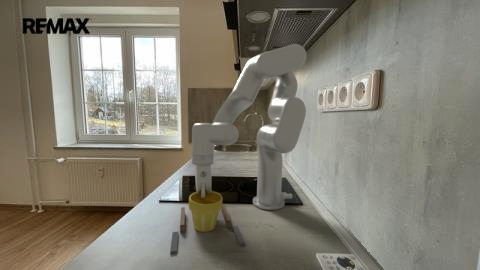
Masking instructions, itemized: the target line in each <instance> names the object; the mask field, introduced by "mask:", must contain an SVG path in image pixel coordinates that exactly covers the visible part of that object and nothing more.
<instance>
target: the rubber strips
mask: <svg viewBox="0 0 480 270" xmlns="http://www.w3.org/2000/svg"><path fill="white" fill-rule="evenodd" d="M232 231H233V233H234V237H235V239H236V242H237V245H238V246H239V247H240V246H245V244H246V242H245V240H244V237H243V235H242V233H241V230H240V228H239V226H238V225H232ZM171 235H172V236H171V244H170V249H169V250H170V251H169V254H170V255H175V254H176V255H177V254H178V245H179V244H178V243H179V231H172V234H171Z"/></svg>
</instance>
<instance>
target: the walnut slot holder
mask: <svg viewBox="0 0 480 270" xmlns="http://www.w3.org/2000/svg"><path fill="white" fill-rule="evenodd" d="M220 212H221V214H222V217H223V221H224V223H225V226H226V228H227V229H230V228H231V227H232V220H231V217H230V215H229V212H228V208H227V207H226V204H225V203H222V208H221V210H220ZM179 223H180V224H179V233H180V234H184V233H185V227H186V226H185V223H186V207H185V206H181V208H180V221H179Z"/></svg>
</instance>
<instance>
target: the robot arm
mask: <svg viewBox="0 0 480 270" xmlns="http://www.w3.org/2000/svg"><path fill="white" fill-rule="evenodd" d="M307 56H308V55H307V51H306V49H305V47H304V46H302V45H300V44H297V43H292V44H289V45H286V46H282V47H278V48H275V49H272V50H268V51H265V52H261V53H260V54H257V55H255V56H253V57H251V58H250V59H249V60H247V62H246V63H245V66H244V67H243V70H242V71H241V72H240V75H239V77H238V79H237V81H236V84H235V85H234V88H232V91H231V93H230V94H229V95H228V96H227V98H226V100H225V101H224V102H223V104H221V107H220V108H219V110H218V112H217V113H216V115H215V117H214V118H213V121H212V123H209V122H197V123H194V124H193V125H192V128H191V133H192V134H191V135H192V136H191V164H192V165H193V166H195V169H194V170H195V172H194V173H195V174H194V176H195V190H196V192H197V193H198V195H199V194H200V193H199V191H201V199H205V191H207V192H208V194H211V191H212V165H214V163H215V145H222V146H230V145H233V144H235V143H236V142H237V141H238V139H239V136H240V132H239V130H238V128H237V127H236V126H235V125H234V122H235V120H236V119H237V118H238V116H239V115H240V114H241V113H242V112H244V111H245V110H247V109H248V108H250V107H251V106H252V105H253V103H254V102H255V99H256V98H257V95H258V94H259V91H260V90H261V88H262V85H263V84H264V82H265V81H266V80H268V79H271V78H274V79H275V86H274V89H273V94H272V96H271V100H270V102H269V106H268V109H267V115H268V118H269V119H270V120H271V121H273V122H276V123H277V124H265V125H263V126H262V127H260V128H259V129H258V131H257V134H256V146H257V181H256V182H257V184H256V196H254V197H253V198H252V204H253V206H255V207H256V208H259V209H261V210H267V211H276V210H281V209H282V208H284V207H285V201H286V200H291V199H293V194H292V193H287V192H286V191H285V192H282V181H283V180H282V179H283V154H289V153H291V152H292V151H293V150H294V149H295V147H296V146H297V144H298V141H299V138H300V136H301V131H302V129H303V126H304V122H305V119H306V115H307V109H306V108H307V107H306V105H305V103H304V101H303V100H302V99H301V98H299V97H298V96H297V92H298V81H297V77H296V75H295V73H294V71H296V70H299V69H301V68H302V67H303V66H304V65H305V63H306V61H307ZM296 96H297V97H296Z"/></svg>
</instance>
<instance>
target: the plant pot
mask: <svg viewBox="0 0 480 270" xmlns="http://www.w3.org/2000/svg"><path fill="white" fill-rule="evenodd" d="M199 193H200V194H199V195H198V193H197V191H196V192H193V193H191V194H190V195H189V196H188V209H189V210H190V212H191V216H192V222H193V223H192V224H193V226H194V229H195V230H196V231H198V232H202V233H207V232H211V231H213V230H214V229H215V228H216V224H217V220H218V217H219V213H220V212H221V208H222V204H223V200H224V199H223V196H222V194H221V193H218V191H214V190H211V194H208V192H207V191H205V199H201V191H199Z"/></svg>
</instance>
